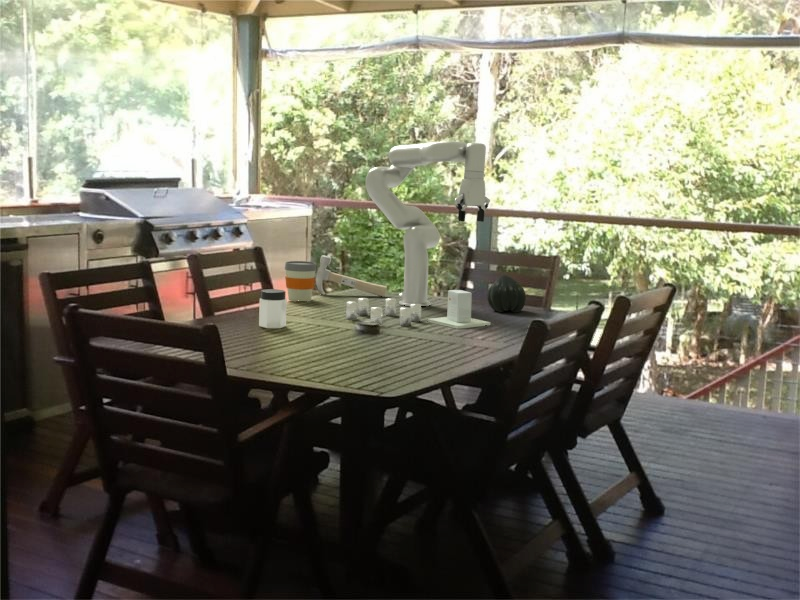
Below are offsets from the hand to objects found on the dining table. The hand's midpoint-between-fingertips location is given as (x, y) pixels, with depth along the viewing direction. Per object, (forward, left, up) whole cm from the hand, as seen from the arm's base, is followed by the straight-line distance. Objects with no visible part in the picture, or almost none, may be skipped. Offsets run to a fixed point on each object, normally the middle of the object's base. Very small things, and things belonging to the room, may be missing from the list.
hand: (470, 221), depth 346 cm
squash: (+6, +16, -35) cm, 39 cm away
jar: (-7, -83, -35) cm, 91 cm away
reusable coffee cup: (-52, -42, -35) cm, 76 cm away
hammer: (-54, -15, -35) cm, 66 cm away
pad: (+18, -21, -35) cm, 45 cm away
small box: (+18, -21, -34) cm, 44 cm away
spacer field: (0, -41, -35) cm, 54 cm away
